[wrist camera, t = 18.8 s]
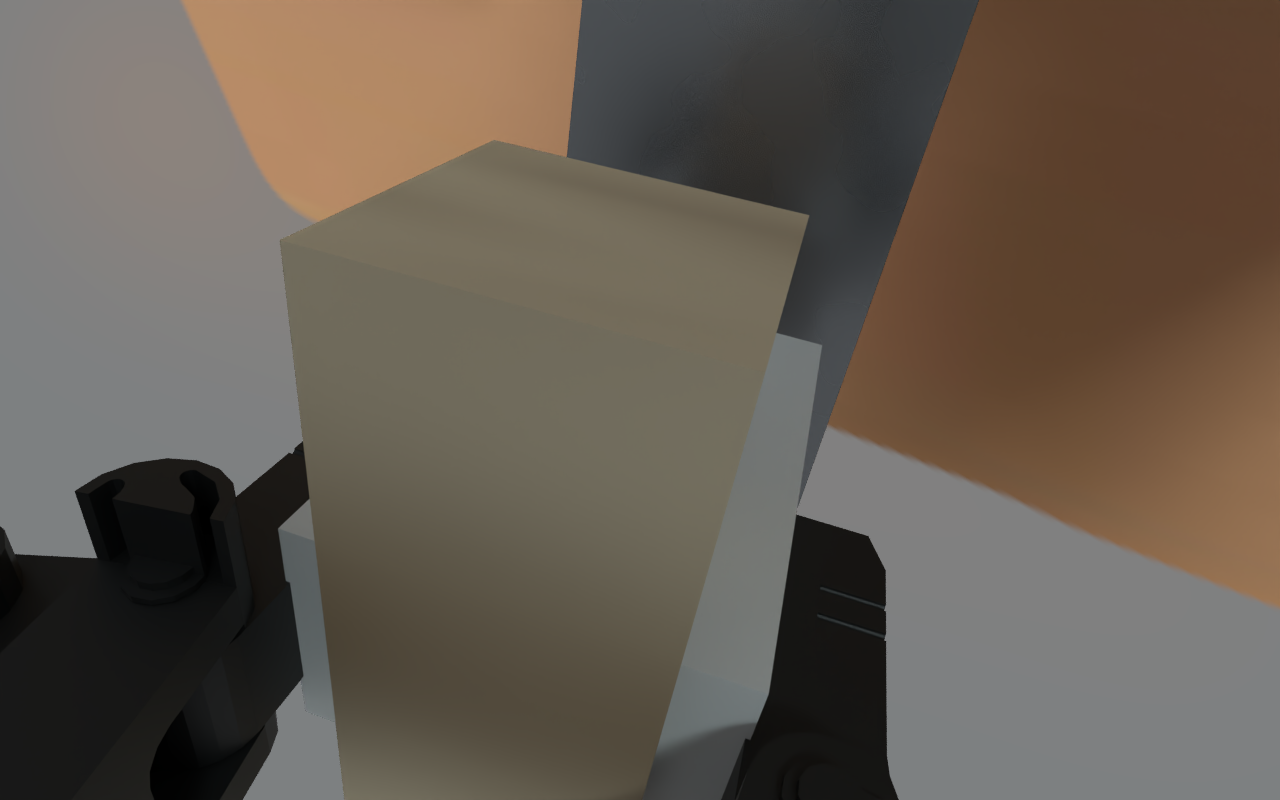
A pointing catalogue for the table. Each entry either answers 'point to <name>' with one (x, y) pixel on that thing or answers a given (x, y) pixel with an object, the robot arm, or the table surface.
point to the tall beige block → (586, 378)
